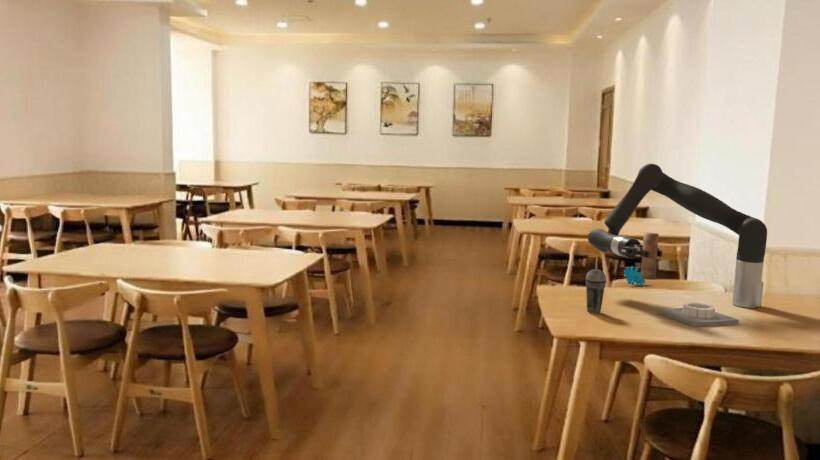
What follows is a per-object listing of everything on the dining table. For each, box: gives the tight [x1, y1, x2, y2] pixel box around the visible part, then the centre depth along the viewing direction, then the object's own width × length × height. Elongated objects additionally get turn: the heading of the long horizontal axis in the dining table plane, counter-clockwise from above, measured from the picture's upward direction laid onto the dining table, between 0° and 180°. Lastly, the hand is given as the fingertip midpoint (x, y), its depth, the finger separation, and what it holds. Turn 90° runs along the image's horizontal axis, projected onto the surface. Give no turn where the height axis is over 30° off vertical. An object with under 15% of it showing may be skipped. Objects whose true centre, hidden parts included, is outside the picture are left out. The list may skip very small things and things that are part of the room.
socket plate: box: [658, 302, 740, 328], centre depth 235 cm, size 18×18×4 cm
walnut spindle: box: [640, 232, 659, 280], centre depth 241 cm, size 5×5×16 cm
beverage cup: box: [584, 256, 607, 315], centre depth 238 cm, size 7×7×20 cm
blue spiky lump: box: [623, 265, 646, 288], centre depth 291 cm, size 11×6×10 cm
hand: (654, 254), depth 238 cm, fingers closed on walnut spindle, 5 cm apart
